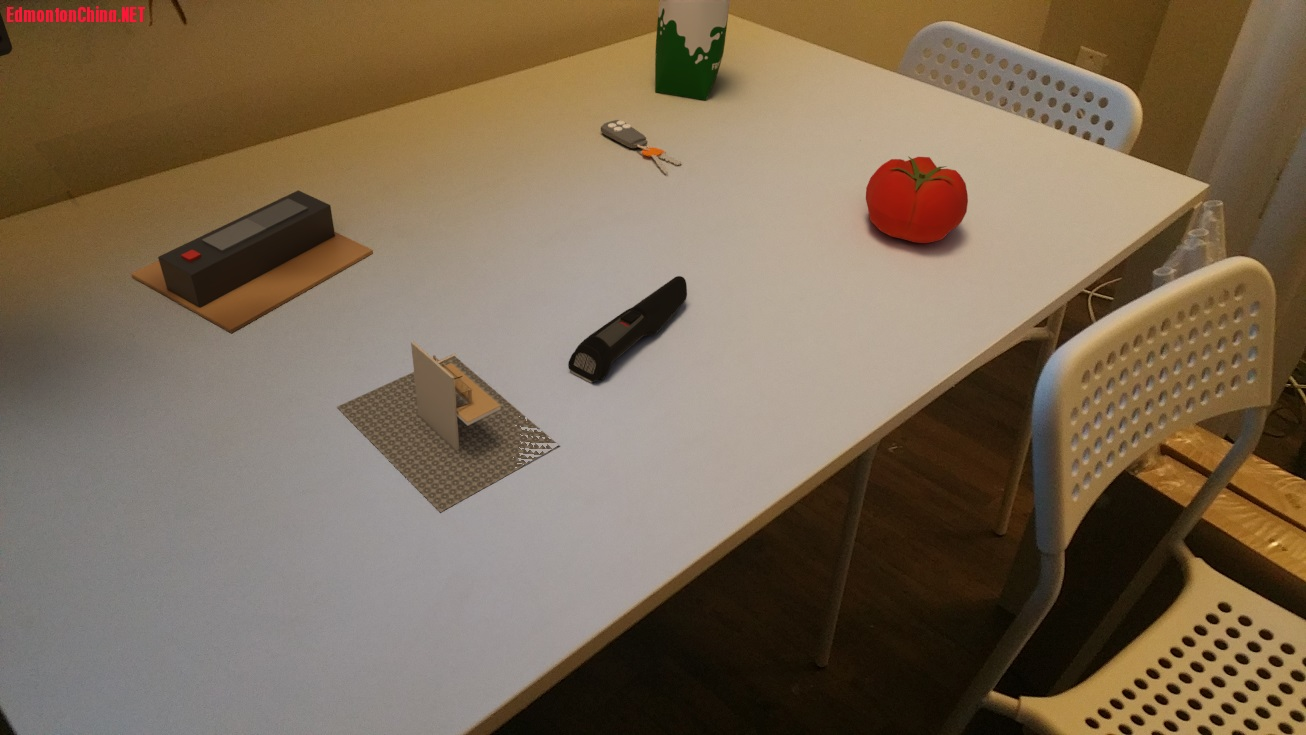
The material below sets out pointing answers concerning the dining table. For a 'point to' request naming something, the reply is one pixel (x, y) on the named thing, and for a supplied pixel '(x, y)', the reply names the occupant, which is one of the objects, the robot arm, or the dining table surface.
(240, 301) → the cork mat
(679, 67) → the milk carton
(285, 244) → the remote
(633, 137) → the key chain
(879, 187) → the tomato
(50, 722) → the dining table surface
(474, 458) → the architectural model
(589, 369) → the electric trimmer
